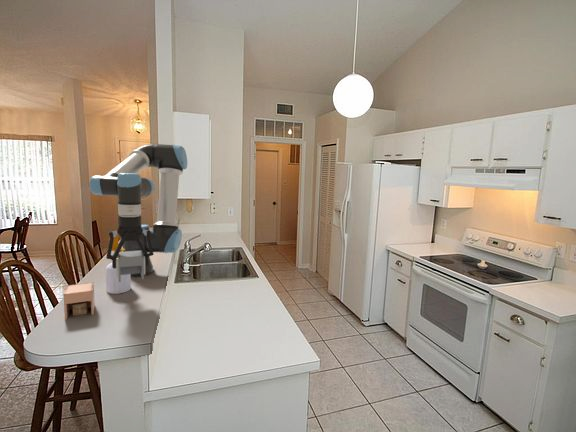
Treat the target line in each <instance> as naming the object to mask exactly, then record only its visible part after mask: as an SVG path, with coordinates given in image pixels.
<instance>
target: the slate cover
mask: <svg viewBox="0 0 576 432" xmlns="http://www.w3.org/2000/svg"><path fill="white" fill-rule="evenodd" d="M118 272H119V282H121V275H127V274H137V273H141V276H140V277H141V279H142V280H145V275H144V255H143V252H142V250H140V251H125V252H123V251H122V252H119V254H118Z"/></svg>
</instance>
